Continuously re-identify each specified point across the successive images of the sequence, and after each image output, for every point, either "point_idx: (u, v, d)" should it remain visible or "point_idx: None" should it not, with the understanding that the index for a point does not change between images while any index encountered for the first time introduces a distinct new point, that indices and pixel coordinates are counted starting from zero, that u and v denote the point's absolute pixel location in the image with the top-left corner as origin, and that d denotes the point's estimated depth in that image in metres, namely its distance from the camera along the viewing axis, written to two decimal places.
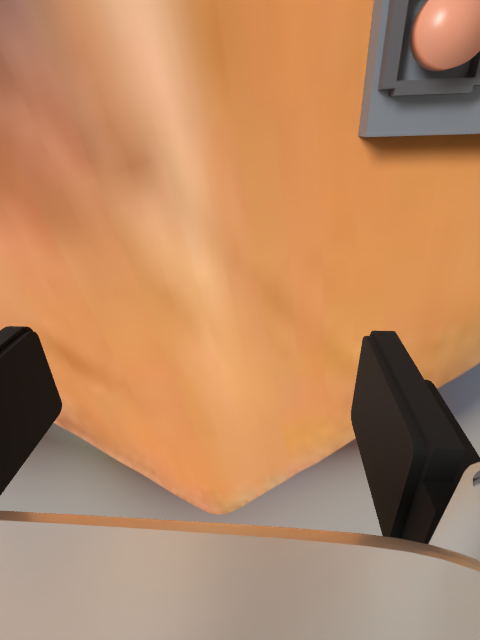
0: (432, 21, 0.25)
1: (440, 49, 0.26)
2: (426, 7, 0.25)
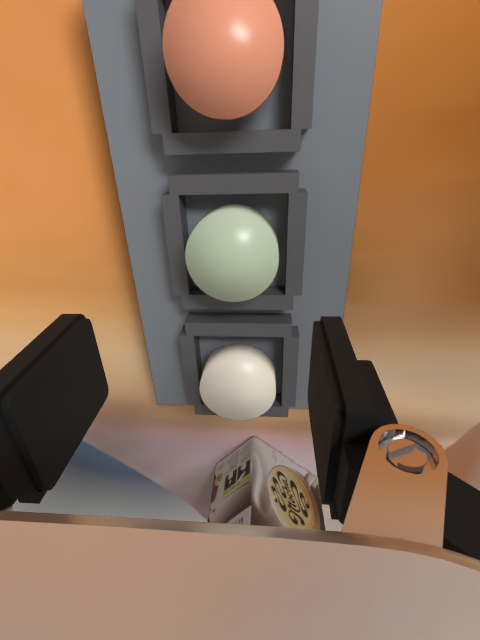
0: None
1: (187, 26, 0.14)
2: None
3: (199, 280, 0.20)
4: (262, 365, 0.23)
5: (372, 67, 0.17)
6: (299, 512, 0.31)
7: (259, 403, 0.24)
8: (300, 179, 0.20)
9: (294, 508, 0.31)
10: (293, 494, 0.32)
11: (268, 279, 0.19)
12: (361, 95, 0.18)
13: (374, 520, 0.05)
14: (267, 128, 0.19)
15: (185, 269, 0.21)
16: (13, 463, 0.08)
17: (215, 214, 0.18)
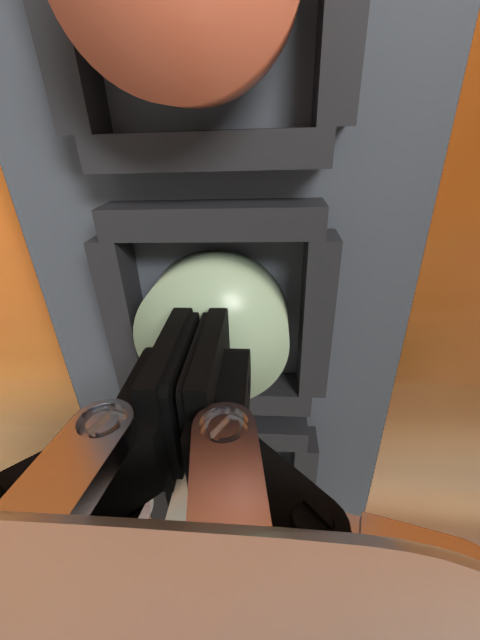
0: None
1: None
2: None
3: None
4: None
5: (476, 6, 0.09)
6: None
7: None
8: (327, 213, 0.12)
9: None
10: None
11: (271, 374, 0.12)
12: (448, 63, 0.09)
13: (211, 498, 0.05)
14: (270, 125, 0.11)
15: (135, 356, 0.13)
16: (162, 451, 0.08)
17: (180, 275, 0.10)
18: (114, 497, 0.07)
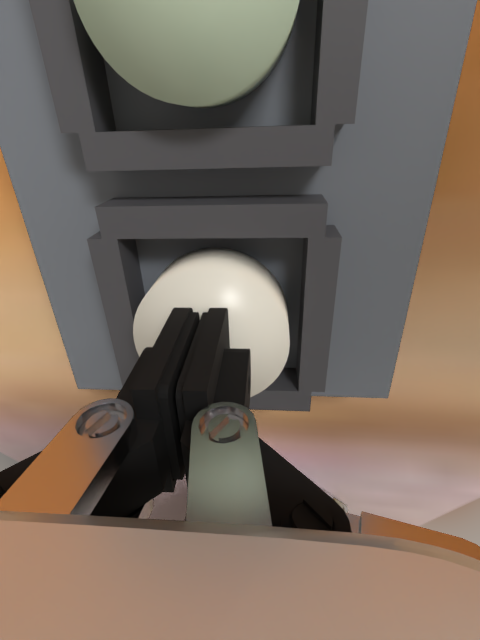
0: None
1: None
2: None
3: (107, 40, 0.08)
4: (262, 284, 0.11)
5: None
6: None
7: (256, 368, 0.12)
8: None
9: None
10: None
11: (277, 28, 0.08)
12: None
13: (210, 498, 0.05)
14: None
15: (78, 56, 0.09)
16: (162, 451, 0.08)
17: None
18: (114, 497, 0.07)
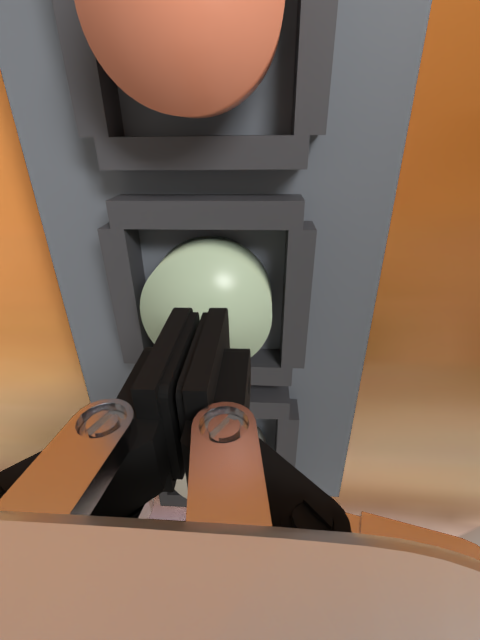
0: None
1: None
2: None
3: None
4: None
5: (421, 42, 0.11)
6: None
7: None
8: (305, 207, 0.14)
9: None
10: None
11: (257, 342, 0.14)
12: (401, 86, 0.12)
13: (210, 498, 0.05)
14: (257, 133, 0.13)
15: (139, 331, 0.15)
16: (162, 451, 0.08)
17: (181, 255, 0.12)
18: (114, 497, 0.07)
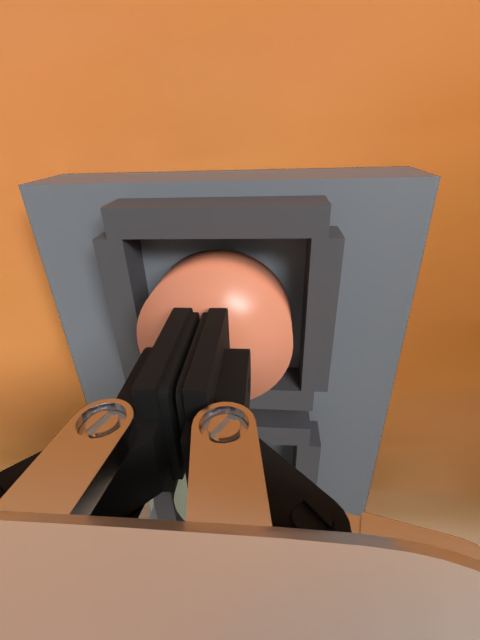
0: (218, 296, 0.10)
1: None
2: (245, 277, 0.10)
3: None
4: None
5: (406, 317, 0.14)
6: None
7: None
8: (311, 412, 0.16)
9: None
10: None
11: None
12: (390, 342, 0.14)
13: (210, 498, 0.05)
14: None
15: (171, 500, 0.18)
16: (162, 451, 0.08)
17: None
18: (114, 497, 0.07)
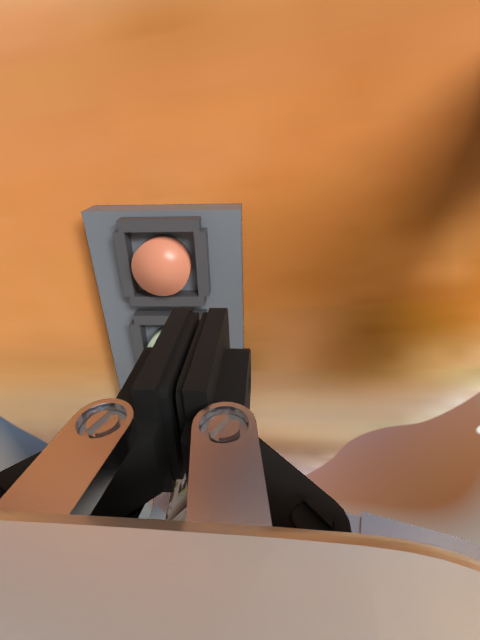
0: (160, 250, 0.30)
1: (143, 260, 0.30)
2: (169, 243, 0.30)
3: None
4: None
5: (240, 264, 0.33)
6: None
7: None
8: None
9: None
10: None
11: None
12: (237, 276, 0.34)
13: (211, 498, 0.05)
14: (188, 289, 0.34)
15: None
16: (162, 451, 0.08)
17: None
18: (114, 497, 0.07)
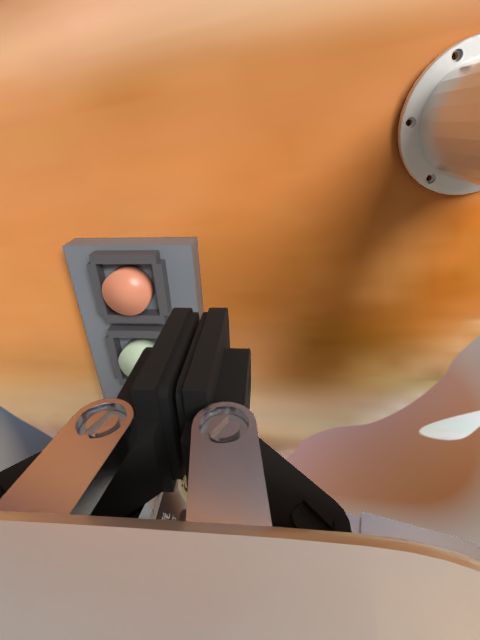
0: (124, 279, 0.36)
1: (111, 287, 0.37)
2: (131, 274, 0.36)
3: (126, 372, 0.42)
4: None
5: (195, 289, 0.39)
6: None
7: None
8: None
9: None
10: None
11: None
12: (192, 298, 0.40)
13: (210, 499, 0.05)
14: (153, 308, 0.41)
15: (119, 368, 0.43)
16: (162, 451, 0.08)
17: (130, 347, 0.41)
18: (114, 497, 0.07)
